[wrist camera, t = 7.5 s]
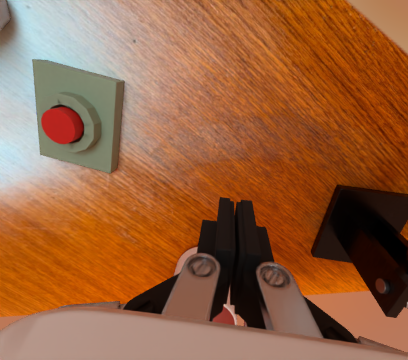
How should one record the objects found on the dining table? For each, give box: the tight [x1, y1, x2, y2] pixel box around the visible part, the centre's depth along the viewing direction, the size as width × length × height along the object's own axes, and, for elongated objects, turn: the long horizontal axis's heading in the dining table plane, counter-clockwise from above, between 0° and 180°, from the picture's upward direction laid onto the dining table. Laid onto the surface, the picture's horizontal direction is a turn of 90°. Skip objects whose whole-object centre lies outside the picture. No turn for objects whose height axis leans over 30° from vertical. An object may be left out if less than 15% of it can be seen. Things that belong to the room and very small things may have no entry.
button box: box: [32, 59, 124, 173], centre depth 29 cm, size 12×10×4 cm
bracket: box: [311, 185, 408, 318], centre depth 28 cm, size 12×10×13 cm
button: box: [41, 107, 84, 144], centre depth 27 cm, size 4×4×2 cm
